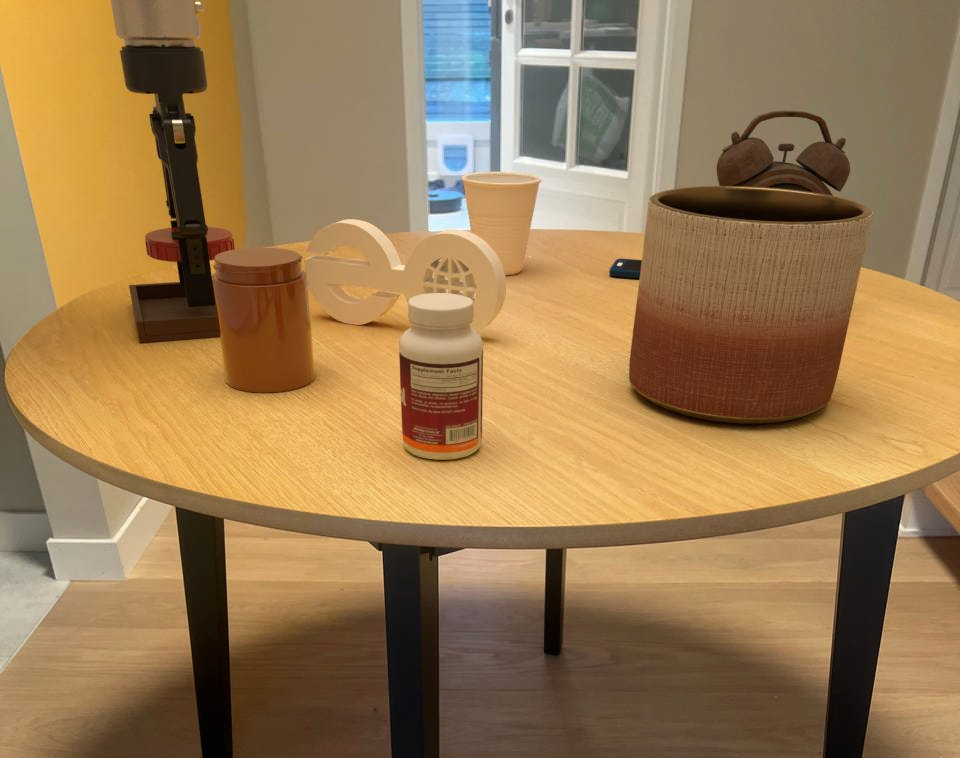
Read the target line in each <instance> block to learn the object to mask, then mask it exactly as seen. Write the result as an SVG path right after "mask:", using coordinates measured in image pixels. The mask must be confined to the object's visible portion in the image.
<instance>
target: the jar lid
mask: <svg viewBox="0 0 960 758" xmlns="http://www.w3.org/2000/svg"><path fill="white" fill-rule="evenodd" d="M207 227H208V231H207V235H206V238H207V245H208V252H209V260H210V261H214V257H215V256H216V255H217V254H219V253H222V252H225V251H230V250H235V249H236V247H235V241H234V238H233V233H232V231H230V230H228V229H225V228H220V227H213V226H207ZM177 230H178V227H173V228H171V227H167V228H160V229H155V230H152V231H149V232H147V233H146V234H145V235H144V242H145V249H146V253H147V254H146V255H147V256H148V257H149V258H151V259H154V260H158V261H162V262H169V263H171V262H172V263H177V262H181V256H180V249H179V243H178V240H172V236H171V233H172V232H174V231H177Z"/></svg>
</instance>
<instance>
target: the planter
mask: <svg viewBox="0 0 960 758" xmlns="http://www.w3.org/2000/svg"><path fill="white" fill-rule="evenodd" d="M873 215H874V212H873V210H872V209H871V208H870V207H868V206H867V205H865V204H864V203H861V202H858V201H855V200H852V199H849V198H845V197H840V196H837V195H833V196H831V195H826V194H820V193H814V192H807V191H799V190H790V189H779V188H766V187H747V186H720V185H705V186H704V185H703V186H702V185H701V186H688V187H679V188H671V189H667V190H662V191H659V192H657V193H655V194H653V195H651V196H649V199H648V203H647V213H646V222H645V230H644V237H643V247H642V257H641V260H642V264H641V272H640V278H639V281H638V290H637V297H636V305H635V312H634V320H633V328H632V336H631V337H632V338H631V344H630V345H631V346H630V355H629V365H628V367H629V368H628V379H629V382H630V384H631V385H632V388H634V389H635V390H636V392H638V393H639V395H641V397H643V398H644V399H646V400H648V401H649V402H651V403H652V404H655V405H656V406H659V407H661V408H663V409H665V410H667V411H671V412H674V413H676V414H679V415H684V416H687V417H691V418H696V419H701V420H706V421H711V422H718V423H730V424H731V423H732V424H742V425H743V424H745V425H747V424H748V425H750V424H752V425H755V424H756V425H757V424H773V423H781V422H787V421H791V420H792V421H793V420H796V419H800V418H804V417H806V416H808V415H811V414H813V413H815V412H817V411H819V410H820V409H822V408H824V407H825V406H826V405H827V404H828V403H829V402H830V400H831V398H832V396H833V393H834V389H835V387H836V383H837V379H838V374H839V370H840V365H841V363H842V362H841V361H842V357H843V351H844V347H845V342H846V338H847V333H848V328H849V324H850V319H851V315H852V309H853V307H854V301H855V297H856V292H857V287H858V284H859V283H858V282H859V278H860V274H861V268H862V265H863V260H864V255H865V251H866V247H867V243H868V238H869V235H870V229H871V224H872V221H873Z"/></svg>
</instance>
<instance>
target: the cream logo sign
mask: <svg viewBox="0 0 960 758" xmlns="http://www.w3.org/2000/svg"><path fill="white" fill-rule="evenodd" d="M342 247H350V248H353V249H355V250H357V251H358V252H359V253H361V255H362V256H363V257H364V258H365V259H366V260H363V259H356V258H347V257H339V256H331V255H329V254H332V253H335V252H337V251H339V250H340V249H341V248H342ZM305 252H306V253H310V254H311V253H312V254H315V255H311V256H309V257H306V258H305V259H304V271H305V272H306V274H307V283H308V290H309V291H310V293H311V295H312V297H313V298H314V300H315V302H316V303H317V304H318V306H319V307H320V308H321V309H322V310H323V311H324V312H325V313H326V314H328V315H329V316H330V317H331V318H333V319H334V320H337V321H338V322H340V323H344V324H348V325H355V326H356V325H357V326H358V325H359V326H362V325H365V324H369V323H372V322H373V321H375V320H378V319H379V318H381V317H383V316H384V315H386V314H387V313H388V312H390V311H391V309H392V308H393V307H394V306H395V305H396V303H397V302H398V300H399V298H400V296H401V294H404V297H405V300H406V304H408V301H409V299H410V298H412V297H414V296H417V295H422V294H429V293H449V294H457V295H462V296H466V297H469V298H470V299H472V300H473V309H474V318H473V321H472V323H471V324H470V327H471V328H473V329H474V330H475V331H477V332H478V333H479V332H480V331H482V330H484V329H485V328H486V327H488V326H490V325H491V324H492V323H493V322H494V320H496V318H497V317H498V315H499V314H500V312H501V311H502V309H503V306H504V303H505V300H506V292H507V279H506V275H505V273H504V269H503V266H502V264H501V261H500V259H499V258H498V256H497V254H496V253H495V252H494V250H493V249H492V248H491V247H490V246H489V245H488V243H487V242H485V241H484V240H483V239H481V238H480V237H478V236H477V235H475V234H472V233H471V231H467V230H462V229H446V230H442V231H440V232H437V233H435V234H432V235H430V236H427V237H426V238H424V239H423V240H421V241H420V242H419V243H417V244H416V245H415V246H414V247H413V249H412V250H411V252H409V255H408V257H407V259H406V261H405V264H402V262H401V259H400V256H399V254H398V251H397V249H396V248H395V246H394V244H393V243H392V241H391V240H390V239H389V238H388V236H387V235H386V234H385V233H384V232H383V231H382V230H380V228H378V227H377V226H375V225H374V224H372V223H370V222H368V221H365V220H362V219H354V218H353V219H352V218H351V219H350V218H349V219H348V218H347V219H342V220H339V221H337V222H333V223H330V224H328V225H326V226H324V227H322V228H320V229H319V230H318V231H317V232H316V233H315V234H314V235H313V236H312V238H311V240H310V242H309V243H308V246H307V248H306V250H305ZM446 278H447V279H446ZM461 279H462V281H461ZM342 286H346V287H352V288H361V289H367V290H376V291H375V292H374V293H371V294H369V295H367V296H366V297H365V298H359V297H356V296H353V295H350V294H349V293H348V292H347V291H346V290H345V289H344V288H343V287H342ZM447 290H448V291H447ZM474 295H476V296H475V298H474Z"/></svg>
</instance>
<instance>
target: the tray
mask: <svg viewBox="0 0 960 758" xmlns="http://www.w3.org/2000/svg"><path fill="white" fill-rule="evenodd" d="M128 288H129V293H130V299H131V304H132V310H133V315H134V320H135V326H136V331H137V336H138V342H139V343H140V344H145V343H159V342H171V341H182V340H197V339H209V338H220V334H219V327H218V320H217V312H216V305H214V306H199V307H188V302H187V296H186V289H185V285H183V286H181V285H180V281H172V282H171V281H170V282H156V283H155V282H154V283H140V284H128Z"/></svg>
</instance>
